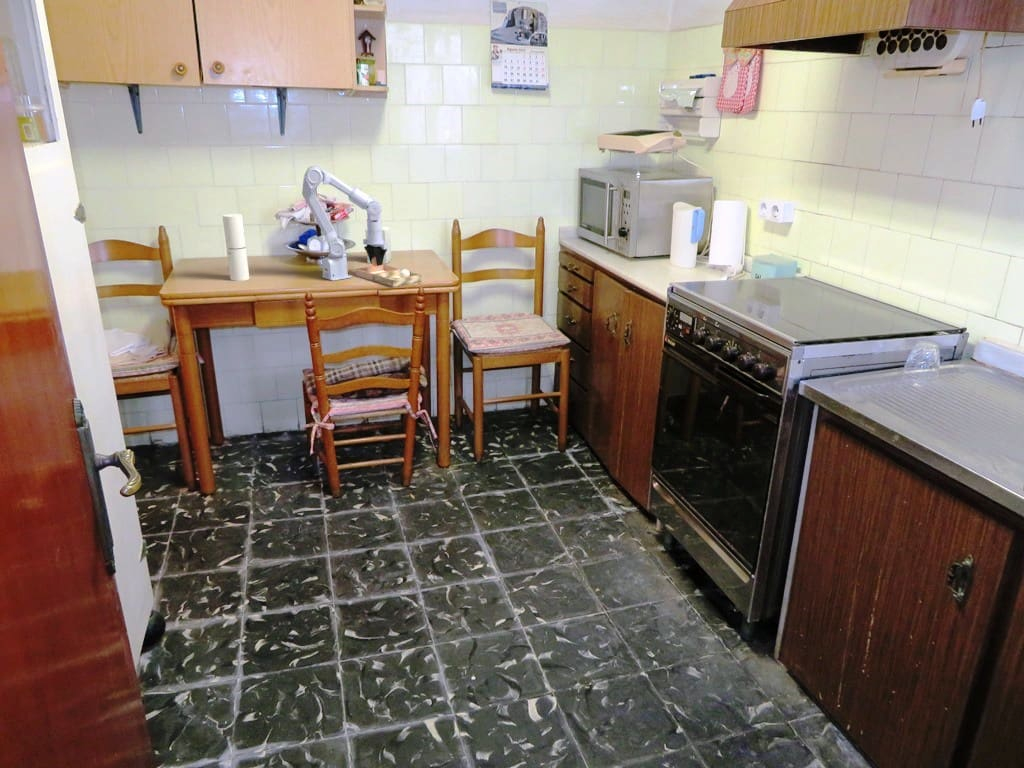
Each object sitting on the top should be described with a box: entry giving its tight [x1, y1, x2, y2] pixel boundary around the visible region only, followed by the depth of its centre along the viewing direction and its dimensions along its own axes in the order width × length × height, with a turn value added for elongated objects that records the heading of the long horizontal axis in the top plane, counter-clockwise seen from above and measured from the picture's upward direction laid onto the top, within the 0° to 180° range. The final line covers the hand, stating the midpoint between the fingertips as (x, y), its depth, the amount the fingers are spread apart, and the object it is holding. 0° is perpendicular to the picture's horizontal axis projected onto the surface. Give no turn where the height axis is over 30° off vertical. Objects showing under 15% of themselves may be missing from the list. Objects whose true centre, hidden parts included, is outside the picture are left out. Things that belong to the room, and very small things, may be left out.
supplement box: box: [365, 226, 392, 265], centre depth 321 cm, size 9×9×15 cm
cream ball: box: [400, 269, 410, 278], centre depth 292 cm, size 4×4×4 cm
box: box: [373, 269, 423, 288], centre depth 290 cm, size 14×12×3 cm
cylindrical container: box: [222, 213, 250, 282], centre depth 285 cm, size 7×7×25 cm
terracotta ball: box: [372, 257, 380, 267], centre depth 297 cm, size 4×4×4 cm
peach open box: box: [355, 264, 403, 282], centre depth 299 cm, size 14×12×3 cm
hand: (376, 264), depth 297 cm, fingers closed on terracotta ball, 4 cm apart
